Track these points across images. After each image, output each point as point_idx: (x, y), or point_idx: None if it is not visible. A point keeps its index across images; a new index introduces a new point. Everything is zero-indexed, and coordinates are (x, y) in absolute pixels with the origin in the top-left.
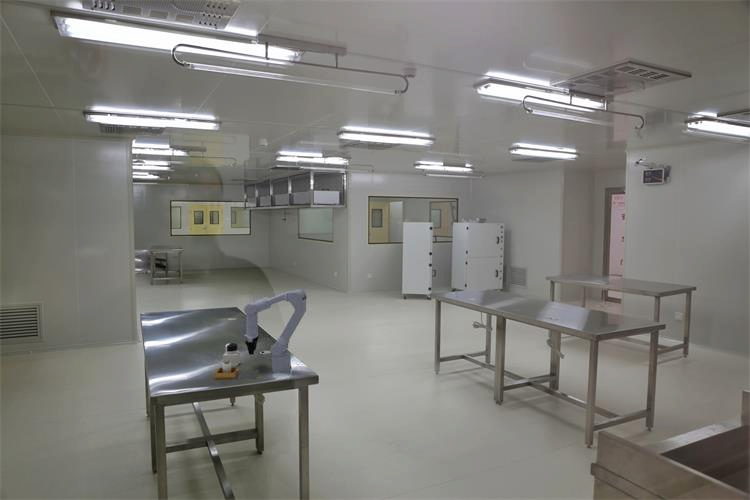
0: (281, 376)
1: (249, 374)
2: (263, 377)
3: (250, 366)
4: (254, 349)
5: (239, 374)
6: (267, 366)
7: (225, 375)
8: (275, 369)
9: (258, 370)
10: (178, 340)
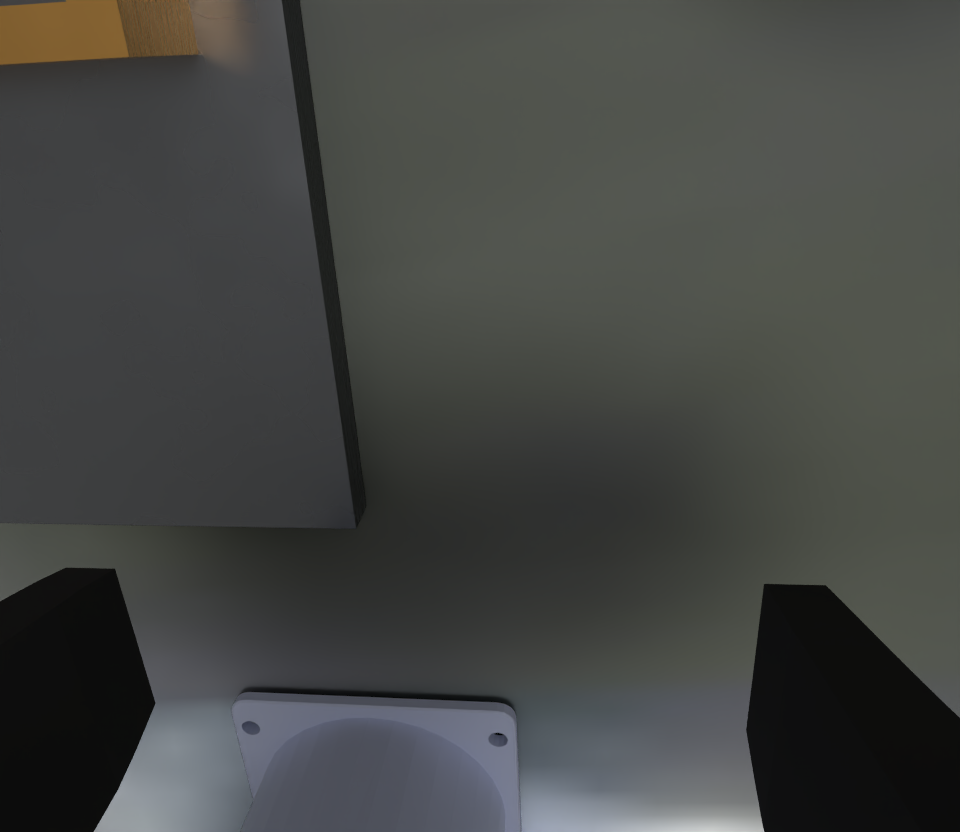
0: (175, 812)
1: (60, 365)
2: None
3: (833, 250)
4: (761, 736)
5: (11, 130)
6: (749, 609)
7: None
8: (247, 814)
9: (342, 508)
10: None
